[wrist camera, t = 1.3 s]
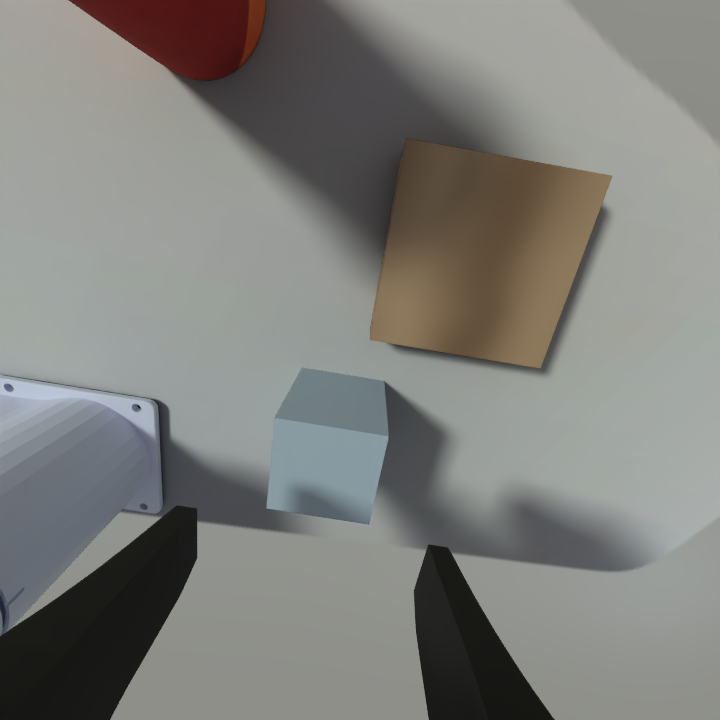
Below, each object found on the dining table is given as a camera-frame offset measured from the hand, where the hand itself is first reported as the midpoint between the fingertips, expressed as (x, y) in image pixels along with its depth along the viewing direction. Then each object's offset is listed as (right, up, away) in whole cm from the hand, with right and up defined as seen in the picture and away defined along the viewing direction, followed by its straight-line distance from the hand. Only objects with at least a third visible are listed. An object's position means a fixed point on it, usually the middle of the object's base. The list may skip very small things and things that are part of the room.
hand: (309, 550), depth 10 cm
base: (+7, +11, +5) cm, 14 cm away
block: (0, +3, +9) cm, 9 cm away
